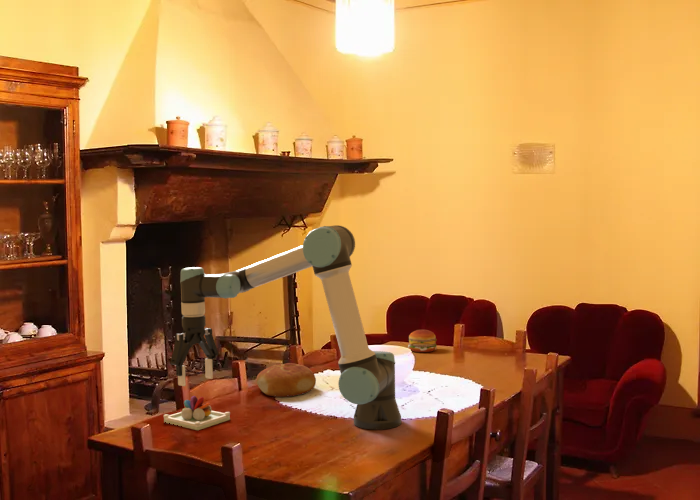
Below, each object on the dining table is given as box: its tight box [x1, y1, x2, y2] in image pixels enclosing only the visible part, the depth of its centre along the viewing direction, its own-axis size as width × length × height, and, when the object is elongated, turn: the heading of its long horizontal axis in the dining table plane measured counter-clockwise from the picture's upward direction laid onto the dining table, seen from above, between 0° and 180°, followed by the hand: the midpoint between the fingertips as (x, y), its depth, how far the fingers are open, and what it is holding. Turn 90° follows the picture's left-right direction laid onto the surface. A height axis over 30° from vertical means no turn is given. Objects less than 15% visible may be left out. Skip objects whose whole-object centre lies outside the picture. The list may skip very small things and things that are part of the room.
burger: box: [407, 329, 438, 353], centre depth 363 cm, size 13×14×10 cm
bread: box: [256, 362, 317, 398], centre depth 292 cm, size 23×23×10 cm
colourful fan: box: [180, 395, 213, 421], centre depth 254 cm, size 8×10×7 cm
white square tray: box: [163, 410, 231, 431], centre depth 254 cm, size 17×15×2 cm
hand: (195, 381), depth 254 cm, fingers open, 11 cm apart
